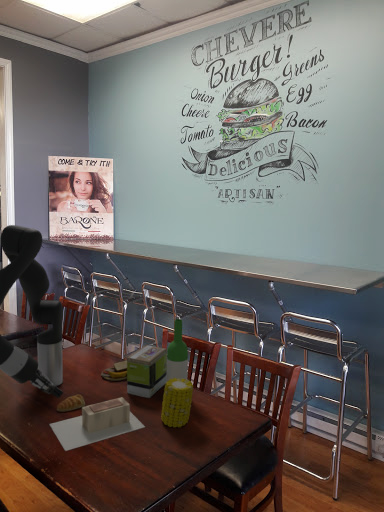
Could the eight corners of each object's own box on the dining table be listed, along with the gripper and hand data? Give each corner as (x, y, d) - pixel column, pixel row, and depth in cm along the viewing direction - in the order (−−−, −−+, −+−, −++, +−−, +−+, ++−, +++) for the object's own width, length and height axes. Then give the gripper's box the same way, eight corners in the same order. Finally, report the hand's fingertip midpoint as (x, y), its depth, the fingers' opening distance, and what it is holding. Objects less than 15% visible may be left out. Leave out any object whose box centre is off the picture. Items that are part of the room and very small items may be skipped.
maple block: (82, 406, 140) (122, 396, 148) (82, 424, 141) (122, 413, 148) (88, 414, 135) (129, 403, 143) (88, 433, 136) (129, 421, 143)
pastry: (62, 416, 147) (62, 406, 146) (52, 409, 151) (52, 399, 151) (86, 407, 153) (86, 397, 153) (76, 400, 158) (76, 390, 158)
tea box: (145, 378, 178) (145, 344, 176) (167, 383, 174) (168, 348, 172) (126, 393, 164) (126, 356, 162) (149, 399, 161) (150, 361, 158)
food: (166, 417, 151) (193, 424, 148) (152, 426, 140) (181, 434, 137) (172, 373, 152) (200, 379, 149) (160, 378, 141) (189, 385, 138)
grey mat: (49, 425, 140) (49, 424, 140) (123, 406, 155) (123, 404, 155) (65, 452, 126) (65, 450, 126) (145, 428, 141) (145, 426, 141)
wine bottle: (172, 403, 157) (174, 324, 153) (162, 395, 164) (164, 318, 160) (190, 399, 162) (193, 321, 157) (179, 390, 168) (182, 315, 164)
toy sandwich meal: (99, 370, 185) (99, 360, 184) (131, 368, 188) (131, 357, 188) (102, 383, 173) (102, 372, 172) (136, 380, 177) (136, 369, 176)
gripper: (32, 361, 119) (76, 393, 128) (21, 346, 130) (62, 376, 139) (12, 383, 117) (58, 414, 126) (2, 366, 128) (45, 396, 136)
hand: (60, 394), depth 132 cm, fingers closed
